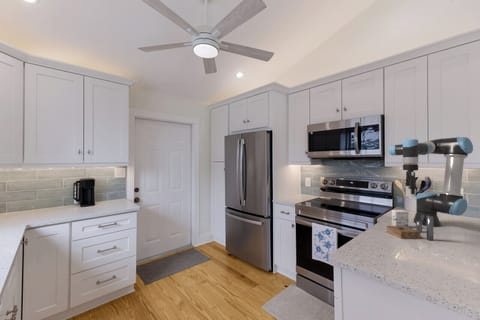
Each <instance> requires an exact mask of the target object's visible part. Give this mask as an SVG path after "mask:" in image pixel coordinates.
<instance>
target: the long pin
mask: <svg viewBox="0 0 480 320" xmlns="http://www.w3.org/2000/svg"><path fill="white" fill-rule="evenodd" d="M426 240H427V241H431V242H433V241H434V226H433V216H427V226H426Z"/></svg>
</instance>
